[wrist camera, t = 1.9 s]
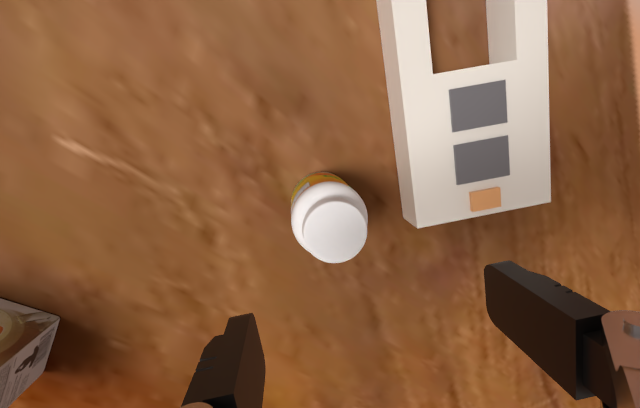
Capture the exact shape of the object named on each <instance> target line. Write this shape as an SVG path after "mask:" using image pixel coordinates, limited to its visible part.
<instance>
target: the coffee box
mask: <svg viewBox="0 0 640 408" xmlns="http://www.w3.org/2000/svg"><path fill="white" fill-rule="evenodd" d="M59 321H60V317H59V316H56V315H53V314H50V313H46V312H43V311H39V310H36V309H33V308H30V307H27V306H23V305H20V304H17V303H14V302H10V301H7V300H4V299H1V298H0V408H8V407H9V406H10V405H11V404H12V403H13V402H14V401H15V400H16V399H17V398H18V397H19V396H20V395H21V394H22V393H23V392H24V391H25V390H26V389H27V388H28V387H29V386H30V385H31V384H32V383H33V382H34V381H35V380H36V379H37V378H38V377H39V376H40V375H41V374H42V373H43V371H44V369H45V366H46V363H47V359H48V356H49V353H50V350H51V346H52V343H53V340H54V337H55V334H56V330H57V327H58V324H59Z"/></svg>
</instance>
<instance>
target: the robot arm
mask: <svg viewBox="0 0 640 408" xmlns="http://www.w3.org/2000/svg"><path fill="white" fill-rule="evenodd" d="M484 279H485V293H486V306H487V311H488V314H489V317H490V319H491V320H492V322H493V323H494V325H495V326H496V327H498V328H499V329H500V330H501V331H502V332H503V333H504V334H505V335H506V336H507V337H508V338H509V339H510V340H512V341H513V342H514V343H515V344H516V345H517V346H518V347H519V348H520V349H521V350H522V351H523V352H524V353H526V354H527V355H528V356H529V357H530V358H531V359H532V360H533V361H534V362H535V363H536V364H537V365H538V366H540V367H541V368H542V369H543V370H544V371H545V372H546V373H547V374H548V375H549V376H550V377H551V378H552V379H554V380H555V381H556V382H557V383H558V384H559V385H560V386H561V387H562V388H563V389H564V390H565V391H566V392H568V393H569V394H570V395H571V396H572V397H573V398H574V399H575V400H580V399H584V398H588V397H593V396H597V397H598V398H599V399H600V408H640V312H636V311H627V310H619V311H612V312H611V311H609V310H607V309H605V308H603V307H601V306H600V305H598V304H596V303H594V302H592V301H591V300H589V299H587V298H585V297H583V296H582V295H580V294H578V293H576V292H572V290H571V289H569V288H567V287H565V286H561V284H560V283H558V282H556V281H554V280H552V279H551V278H549V277H547V276H544V275H540V274H537V273H534V272H530V271H527V270H526V269H524V268H522V267H520V266H519V265H517V264H515V263H513V262H512V261H504V262H499V263H494V264H489V265H486V266H485V269H484ZM264 382H265V360H264V354H263V350H262V345H261V341H260V337H259V333H258V329H257V325H256V321H255V317H254V315H253V313H249V314H244V315H240V316H235V317H230V318H229V320H228V323H227V326H226V329H225V332H224V335H219V336H215V337H214V338H213V339H212V340H211V341H210V342H209V343H208V345H207V346H206V347H205V348H204V350H203V353H202V355H201V358H200V362H199V363H198V365H197V368H196V372H195V373H194V375H193V378H192V380H191V383H190V385H189V388H188V390H187V393H186V395H185V398H184V400H183V403H182V405H181V407H180V408H262V402H263V392H264Z"/></svg>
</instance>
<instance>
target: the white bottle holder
mask: <svg viewBox="0 0 640 408" xmlns="http://www.w3.org/2000/svg"><path fill="white" fill-rule="evenodd" d="M376 2H377V10H378V18H379V26H380V34H381V42H382V50H383V58H384V67H385V75H386V83H387V91H388V99H389V107H390V115H391V123H392V131H393V139H394V148H395V156H396V164H397V172H398V180H399V188H400V196H401V204H402V212H403V218H404V219H405V220H407V221H408V222H409V223H411V224H412V225H413V226H415V227H416V228H422V227H427V226H432V225H437V224H443V223H448V222H453V221H458V220H463V219H468V218H473V217H478V216H483V215H488V214H493V213H498V212H503V211H508V210H513V209H518V208H523V207H528V206H533V205H538V204H543V203H548V202H551V176H550V126H549V75H548V24H547V0H486V13H487V30H488V48H489V65H483V66H478V67H472V68H466V69H460V70H455V71H449V72H443V73H437V74H433V70H432V60H431V49H430V38H429V28H428V17H427V6H426V0H376Z"/></svg>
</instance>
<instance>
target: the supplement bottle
mask: <svg viewBox="0 0 640 408" xmlns="http://www.w3.org/2000/svg"><path fill="white" fill-rule="evenodd" d="M367 223H368V214H367V209H366V206H365V204H364V202H363V200H362V199H361V197H360V196H359V195H358V193H357V192H356V191H355V190H353V189H352V188H351V187H350V186H349V185H348V184H347V183H345V182H344V181H343V180H342V179H341V178H339V177H338V176H336V175H334V174H332V173H328V172H316V173H312V174H310V175H308V176H306V177H304V178H303V179H302V180H301V181H300V182H299V183H298V184H297V185H296V187H295V189H294V191H293V194H292V198H291V224H292V229H293V232H294V235H295V237H296V239H297V241H298V242H299V243H300V244H301V246H302V247H303V248H305V249H306V250H307V251H309V252H310V253H311V254H312V255H314V256H315V257H316V258H318V259H319V260H321V261H324V262H328V263H341V262H344V261H347V260H349V259H351V258H353V257H354V256H355V255H356V254H358V253H359V251H360V250H361V249H362V247H363V246H364V244H365V241H366V238H367Z"/></svg>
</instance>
